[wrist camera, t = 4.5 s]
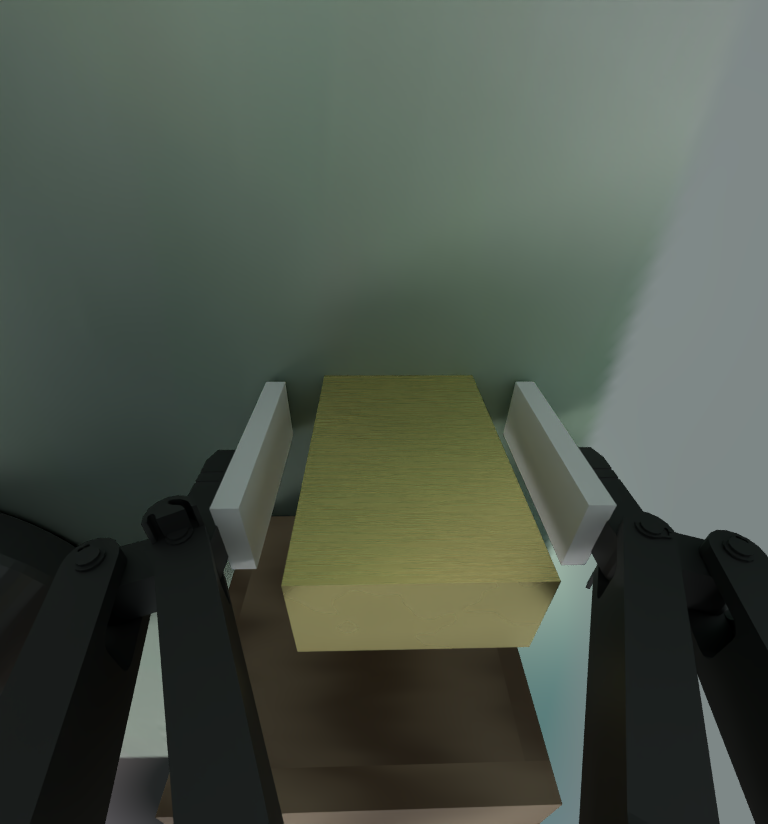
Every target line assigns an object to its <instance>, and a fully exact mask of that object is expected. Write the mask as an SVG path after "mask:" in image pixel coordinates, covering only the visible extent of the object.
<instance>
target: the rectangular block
mask: <svg viewBox="0 0 768 824" xmlns="http://www.w3.org/2000/svg"><path fill="white" fill-rule="evenodd" d="M560 582H561V580H560V578H559V576H558V573H557V571H556V569H555V567H554V564H553V562H552V560H551V557H550V555H549V553H548V550H547V548H546V546H545V543H544V541H543V539H542V536H541V534H540V532H539V529H538V527H537V525H536V522H535V520H534V518H533V515H532V513H531V511H530V508H529V506H528V504H527V501H526V499H525V497H524V495H523V492H522V490H521V488H520V485H519V483H518V481H517V478H516V476H515V474H514V471H513V469H512V467H511V464H510V462H509V460H508V457H507V455H506V453H505V450H504V448H503V446H502V443H501V441H500V439H499V436H498V434H497V432H496V430H495V427H494V425H493V423H492V420H491V418H490V416H489V413H488V411H487V409H486V406H485V404H484V402H483V399H482V397H481V395H480V392H479V390H478V388H477V385H476V383H475V381H474V378H473V376H472V375H453V376H324V380H323V385H322V390H321V395H320V400H319V405H318V409H317V414H316V419H315V424H314V429H313V434H312V439H311V443H310V448H309V453H308V458H307V463H306V468H305V473H304V477H303V482H302V487H301V492H300V497H299V502H298V507H297V511H296V516H295V521H294V526H293V531H292V536H291V541H290V546H289V550H288V555H287V560H286V565H285V570H284V575H283V580H282V584H281V587H282V591H283V595H284V599H285V603H286V607H287V611H288V615H289V619H290V623H291V628H292V632H293V636H294V640H295V644H296V648H297V652H309V651H357V650H405V649H453V648H500V647H529V646H530V644H531V642H532V640H533V638H534V636H535V634H536V632H537V630H538V628H539V625H540V624H541V621H542V619H543V617H544V615H545V613H546V611H547V609H548V607H549V605H550V603H551V601H552V599H553V597H554V595H555V593H556V590H557V589H558V586H559V584H560Z"/></svg>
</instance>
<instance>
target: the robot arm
mask: <svg viewBox="0 0 768 824" xmlns="http://www.w3.org/2000/svg"><path fill="white" fill-rule="evenodd" d="M503 435H504V437H505V439H506V442H507V444H508V446H509V448H510V451H511V453H512V455H513V457H514V460H515V462H516V464H517V466H518V469H519V471H520V473H521V476H522V478H523V480H524V482H525V485H526V487H527V489H528V491H529V494H530V496H531V498H532V500H533V503H534V505H535V507H536V509H537V512H538V514H539V516H540V518H541V521H542V523H543V525H544V527H545V530H546V532H547V534H548V536H549V539H550V541H551V543H552V546H553V548H554V550H555V552H556V555H557V557H558V559H559V561H560V564H561V565H585V564H586V562H587V560H588V559H589V557H590V555H591V553H592V554H593V557H594V558H595V560H596V562H597V566H596V568H595V570H594V572H593V573H592V575H591V577H590V579H589V581H588V582H587V585H586V588H588V589H590V587H591V586H592V584H593V591H592V608H591V626H590V642H589V659H588V677H587V694H586V712H585V729H584V746H583V763H582V782H581V799H580V816H579V824H720V823H719V817H718V810H717V803H716V797H715V790H714V783H713V777H712V770H711V763H710V757H709V750H708V743H707V737H706V730H705V723H704V716H703V710H702V703H701V697H700V691H699V683H698V677H699V680H700V682H701V685H702V687H703V690H704V692H705V695H706V698H707V700H708V703H709V705H710V707H711V710H712V713H713V715H714V718H715V721H716V723H717V726H718V728H719V731H720V734H721V736H722V738H723V741H724V744H725V746H726V749H727V751H728V754H729V757H730V759H731V762H732V764H733V767H734V769H735V772H736V775H737V777H738V780H739V782H740V785H741V787H742V790H743V792H744V795H745V798H746V800H747V803H748V805H749V808H750V811H751V813H752V816H753V818H754V821H755V824H768V557H767V555H766V554H765V553H764V552H763V551H762V550H761V548H760V547H759V546H757V545H756V544H755V543H753V542H752V541H750V540H749V539H747V538H745V537H743V536H741V535H739V534H737V533H734V532H730V531H727V530H716V531H713V532H711V533H710V534H709V535H708V537H707V538H706V539H705V540H703V539H700V538H695V537H691V536H687V535H683V534H679V533H676V532H674V530H673V529H672V528H671V527H670V526H669V525H668V524H667V523H666V522H664V521H663V520H662V519H660V518H659V517H657V516H655V515H652V514H650V513H647V512H643V511H642V509H641V508H640V507H639V505H638V504H637V502H636V501H635V500H634V498H633V497H632V496H631V494H630V493H629V491H628V490H627V489H626V487H625V486H624V485H623V483H622V482H621V480H620V479H618V477H617V475H616V474H615V472H614V471H613V470H611V467H610V465H609V464H608V463H607V461H606V460H605V458H604V457H603V456H601V455H600V454H599V453H597V452H596V451H595V450H594V449H592V448H591V447H577V445H576V444H575V442H574V441H573V439H572V438H571V436H570V435H569V433H568V432H567V430H566V429H565V427H564V426H563V424H562V423H561V421H560V420H559V418H558V417H557V415H556V414H555V412H554V411H553V409H552V408H551V406H550V405H549V403H548V402H547V400H546V399H545V397H544V396H543V394H542V393H541V391H540V390H539V388H538V387H537V385H536V384H535V382H515V387H514V391H513V395H512V399H511V403H510V407H509V411H508V416H507V420H506V424H505V428H504V432H503ZM292 438H293V429H292V422H291V416H290V410H289V403H288V397H287V391H286V384H285V382H266V383H265V386H264V388H263V390H262V392H261V395H260V397H259V399H258V401H257V404H256V406H255V408H254V410H253V413H252V415H251V417H250V419H249V421H248V424H247V426H246V428H245V430H244V433H243V435H242V437H241V439H240V442H239V444H238V446H237V448H236V450H218V451H216V452H215V453H214V454H213V455H212V456H211V457H210V458H209V459H208V460H207V461H206V463H205V464H204V466H203V468H202V470H201V474H199V476H198V478H197V480H196V483H195V484H194V485H193V487H192V489H191V491H190V493H189V495H188V496H179V495H177V496H173V497H168V498H165V499H163V500H161V501H159V502H157V503H156V504H154V505H153V506H152V507H150V508H149V509H148V510H147V512H146V513H145V514H144V516H143V518H142V522H141V525H142V527H143V529H144V531H145V532H146V534H147V536H148V538H149V539H146V540H143V541H140V542H136V543H132V544H128V545H125V546H121V547H120V546H119V545H118V543H117V542H116V540H113V539H111V538H97V539H94V540H90V541H87V542H85V543H84V544H82V545H80V546H78V547H74V546H73V545H71V544H69V543H68V542H66V541H64V540H63V539H61V538H59V537H57V536H55V535H53V534H51V533H49V532H47V531H45V530H43V529H41V528H39V527H36V526H34V525H32V524H30V523H27V522H25V521H22V520H20V519H17V518H14V517H11V516H9V515H6V514H3V513H0V824H105V821H106V816H107V812H108V808H109V803H110V798H111V793H112V789H113V785H114V780H115V775H116V771H117V766H118V762H119V757H120V753H121V748H122V743H123V739H124V734H125V730H126V725H127V721H128V716H129V711H130V707H131V702H132V698H133V693H134V688H135V684H136V679H137V675H138V670H139V666H140V661H141V656H142V652H143V647H144V643H145V638H146V634H147V629H148V624H149V620H150V615H151V613H154V612H157V617H158V630H159V643H160V656H161V669H162V682H163V694H164V707H165V720H166V733H167V746H168V759H169V772H170V785H171V798H172V811H173V824H284V821H283V817H282V813H281V808H280V804H279V800H278V796H277V792H276V788H275V783H274V779H273V775H272V771H271V767H270V762H269V758H268V754H267V750H266V746H265V741H264V737H263V733H262V729H261V725H260V721H259V716H258V712H257V708H256V704H255V700H254V695H253V691H252V687H251V683H250V679H249V674H248V670H247V666H246V662H245V658H244V654H243V649H242V645H241V641H240V637H239V633H238V628H237V624H236V620H235V616H234V612H233V607H232V603H231V599H230V595H229V591H228V586H227V582H226V578H225V576H224V573H223V571H224V568H225V566H226V563H227V560H228V561H229V563H230V566H231V569H257V567H258V563H259V559H260V556H261V552H262V548H263V545H264V541H265V537H266V534H267V530H268V526H269V523H270V519H271V515H272V512H273V508H274V504H275V501H276V497H277V493H278V490H279V486H280V482H281V479H282V475H283V471H284V468H285V464H286V460H287V457H288V453H289V449H290V446H291V442H292ZM697 674H698V676H697Z"/></svg>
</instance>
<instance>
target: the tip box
mask: <svg viewBox="0 0 768 824" xmlns="http://www.w3.org/2000/svg"><path fill="white" fill-rule="evenodd" d="M294 521H295V516H271V519H270V523H269V526H268V530H267V534H266V537H265V541H264V545H263V548H262V552H261V556H260V559H259V563H258V567H257V569H235V571H234V574H233V577H232V580H231V584H230V587H229V590H228V591H229V595H230V599H231V603H232V607H233V612H234V616H235V620H236V624H237V628H238V633H239V637H240V641H241V645H242V649H243V654H244V658H245V662H246V666H247V670H248V674H249V679H250V683H251V687H252V691H253V695H254V700H255V704H256V708H257V712H258V716H259V721H260V725H261V729H262V733H263V737H264V741H265V746H266V750H267V754H268V758H269V762H270V767H271V771H272V775H273V779H274V783H275V788H276V792H277V796H278V800H279V804H280V808H281V813H282V817H283V821H284V824H540V823H541V822H542V821H543V820H544V819H545V818H546V817H548V816H549V815H550V814H551V813H553V812H554V811H555V810H556V809H557V808H559V807H560V806H561V805H562V802H561V798H560V795H559V791H558V788H557V784H556V781H555V777H554V774H553V770H552V767H551V764H550V760H549V756H548V753H547V750H546V746H545V742H544V739H543V735H542V732H541V728H540V725H539V722H538V718H537V715H536V711H535V708H534V704H533V701H532V697H531V694H530V690H529V687H528V683H527V680H526V676H525V673H524V669H523V666H522V662H521V659H520V655H519V652H518V648H517V647H500V648H453V649H405V650H357V651H309V652H297V648H296V644H295V640H294V636H293V632H292V628H291V623H290V619H289V615H288V611H287V607H286V603H285V599H284V595H283V591H282V587H281V584H282V580H283V575H284V570H285V565H286V560H287V555H288V550H289V546H290V541H291V536H292V531H293V526H294ZM156 818H157V819H158V820H160V821H161V822H163V823H165V824H173V811H172V798H171V785H170V773H169V777H168V779H167V783H166V786H165V789H164V792H163V795H162V798H161V802H160V804H159V807H158V811H157V814H156Z"/></svg>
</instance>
